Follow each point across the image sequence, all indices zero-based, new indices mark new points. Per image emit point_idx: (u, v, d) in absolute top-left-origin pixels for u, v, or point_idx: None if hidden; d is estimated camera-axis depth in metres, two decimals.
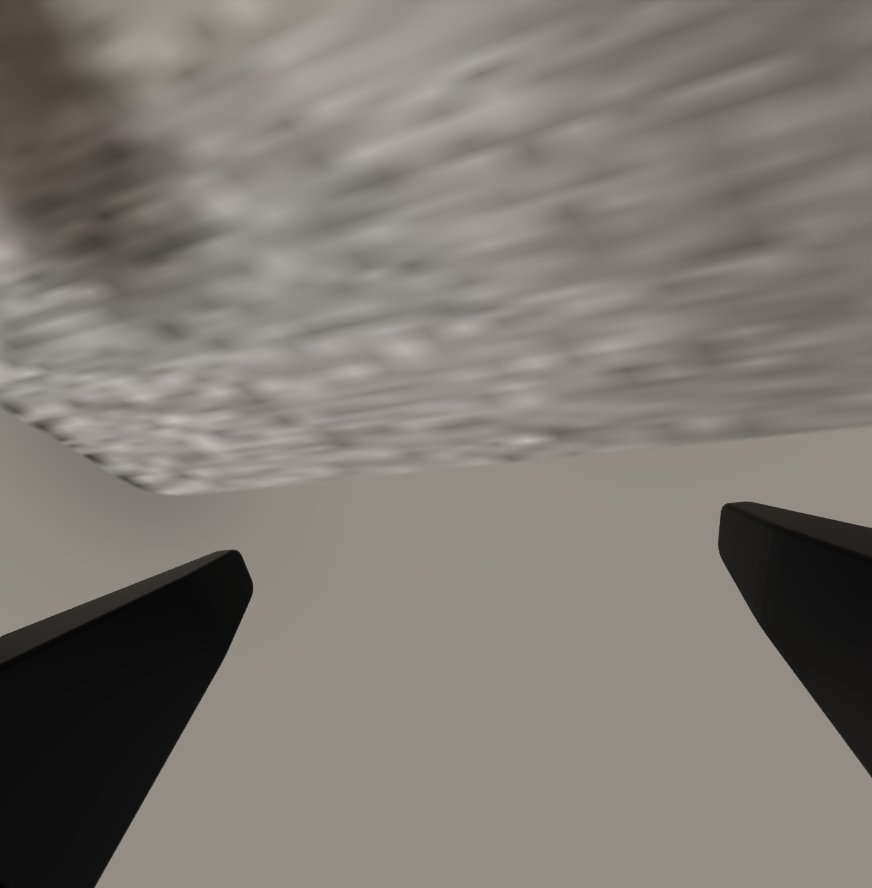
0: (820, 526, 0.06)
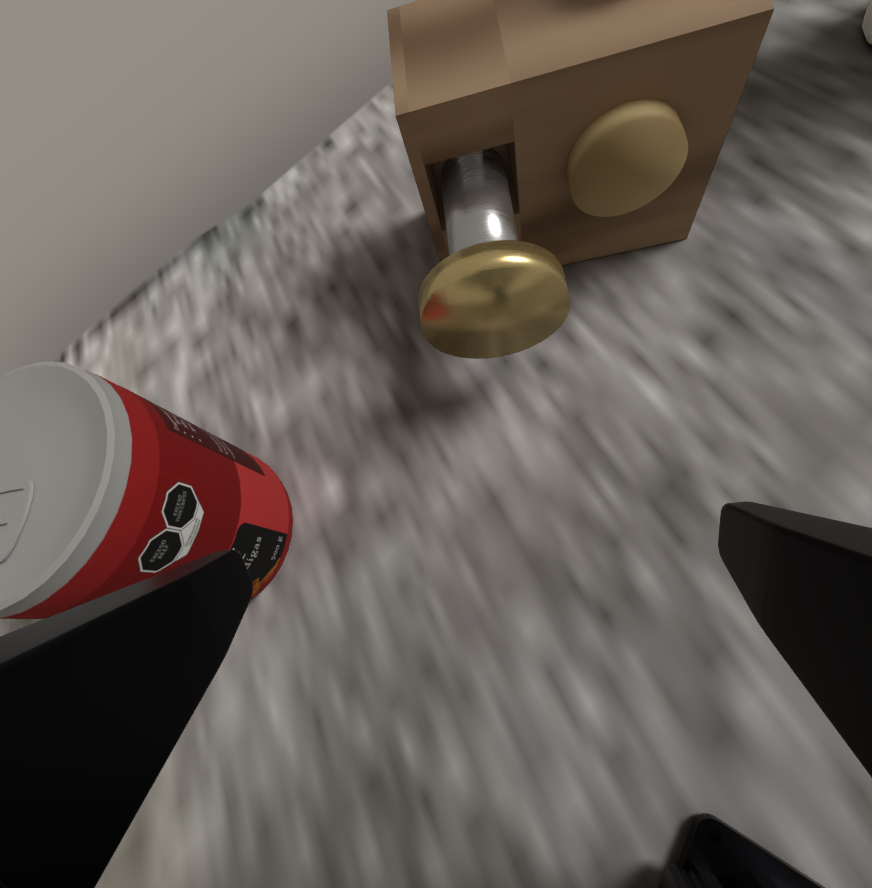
0: (820, 526, 0.06)
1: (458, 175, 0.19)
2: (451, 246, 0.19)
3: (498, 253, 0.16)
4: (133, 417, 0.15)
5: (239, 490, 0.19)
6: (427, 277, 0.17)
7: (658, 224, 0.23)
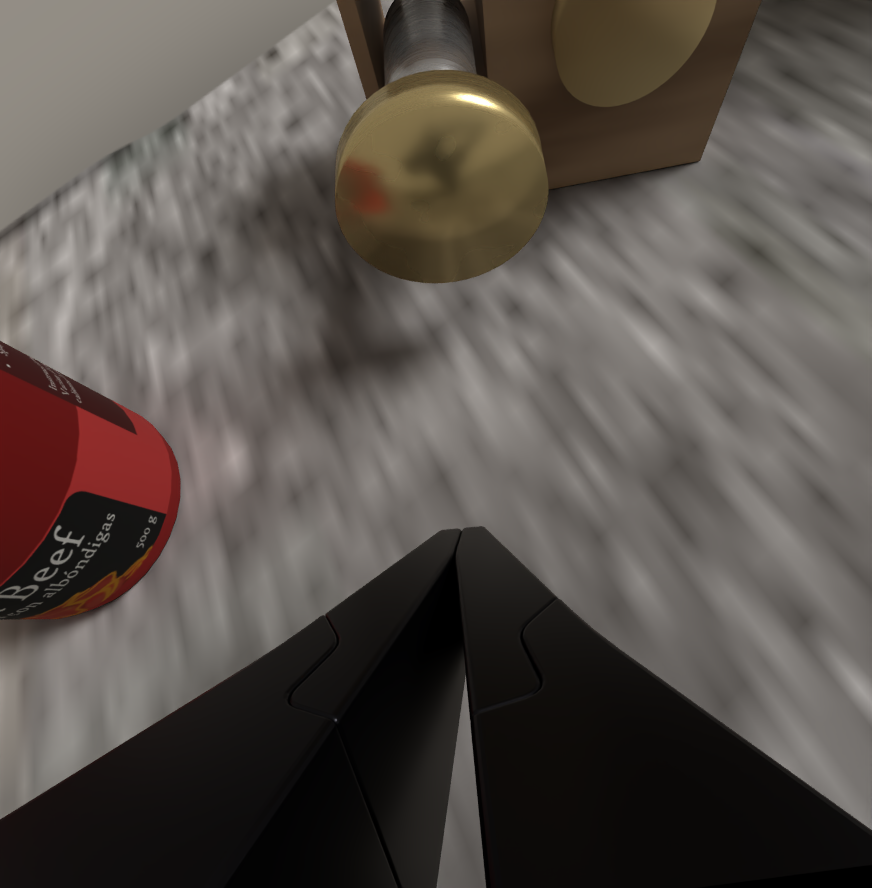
0: (483, 555, 0.07)
1: (402, 20, 0.14)
2: None
3: (442, 85, 0.10)
4: None
5: (75, 444, 0.14)
6: (343, 135, 0.12)
7: (666, 134, 0.18)
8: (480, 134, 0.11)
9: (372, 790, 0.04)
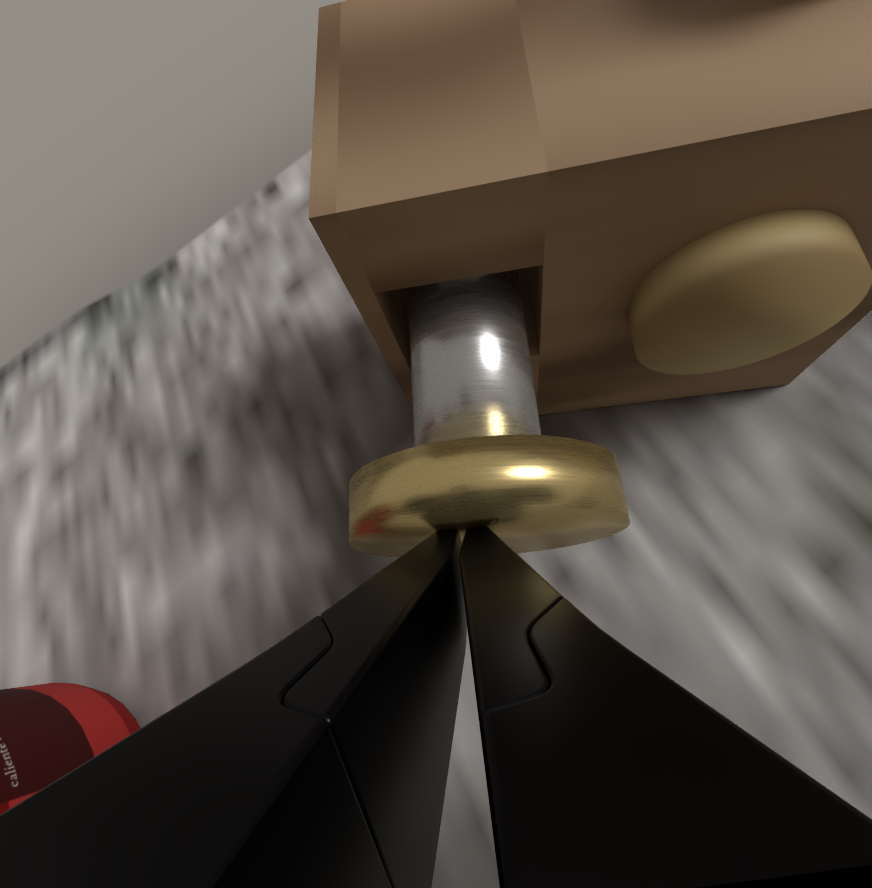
0: (488, 554, 0.07)
1: None
2: (415, 391, 0.11)
3: (500, 466, 0.07)
4: None
5: None
6: (360, 474, 0.09)
7: (753, 369, 0.15)
8: (549, 514, 0.08)
9: (365, 791, 0.04)
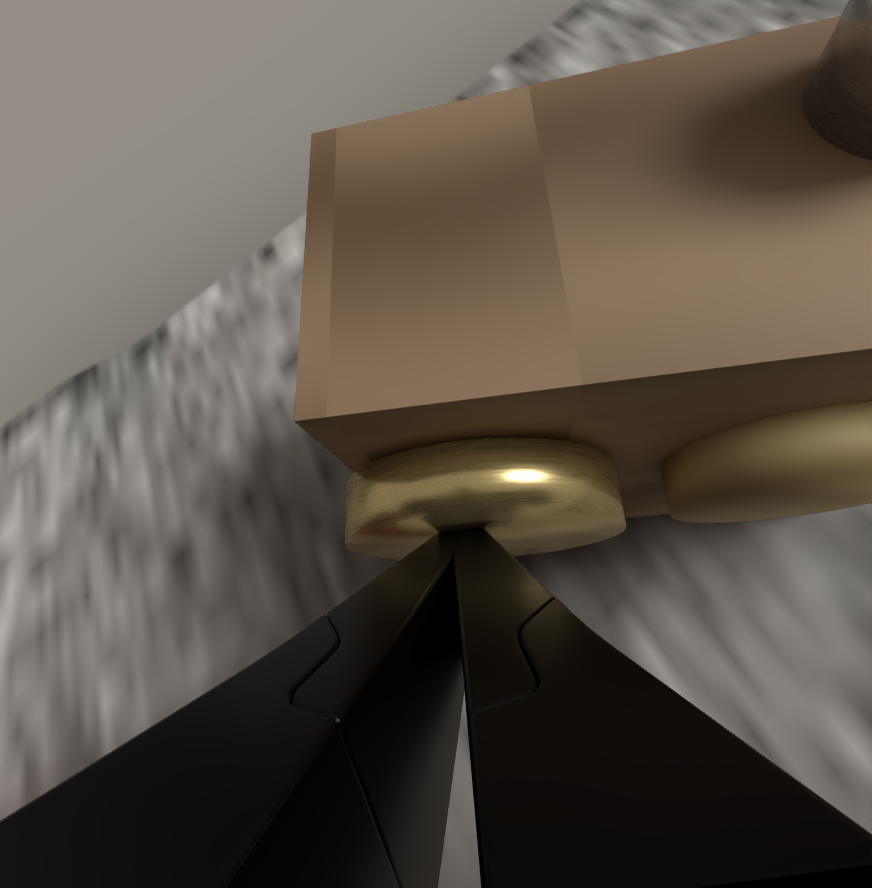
0: (482, 555, 0.07)
1: None
2: None
3: (495, 468, 0.07)
4: None
5: None
6: (356, 477, 0.09)
7: None
8: (545, 517, 0.08)
9: (372, 791, 0.04)
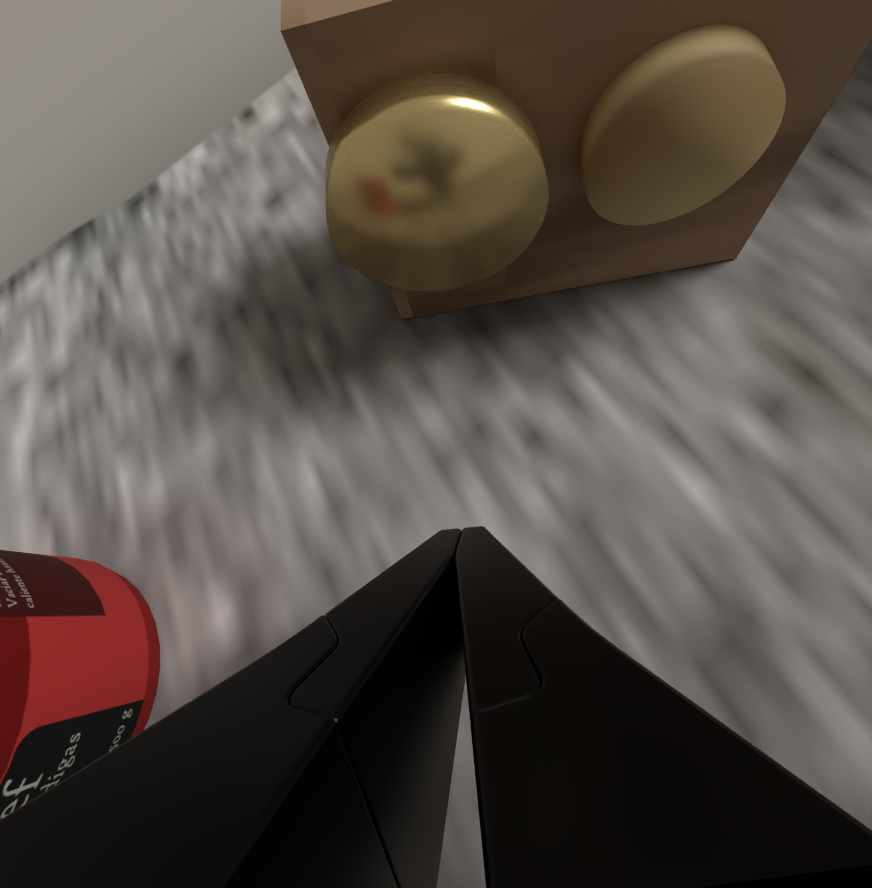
0: (483, 555, 0.07)
1: None
2: None
3: (437, 89, 0.10)
4: None
5: (26, 674, 0.11)
6: (332, 143, 0.11)
7: (701, 237, 0.16)
8: (478, 140, 0.10)
9: (372, 791, 0.04)
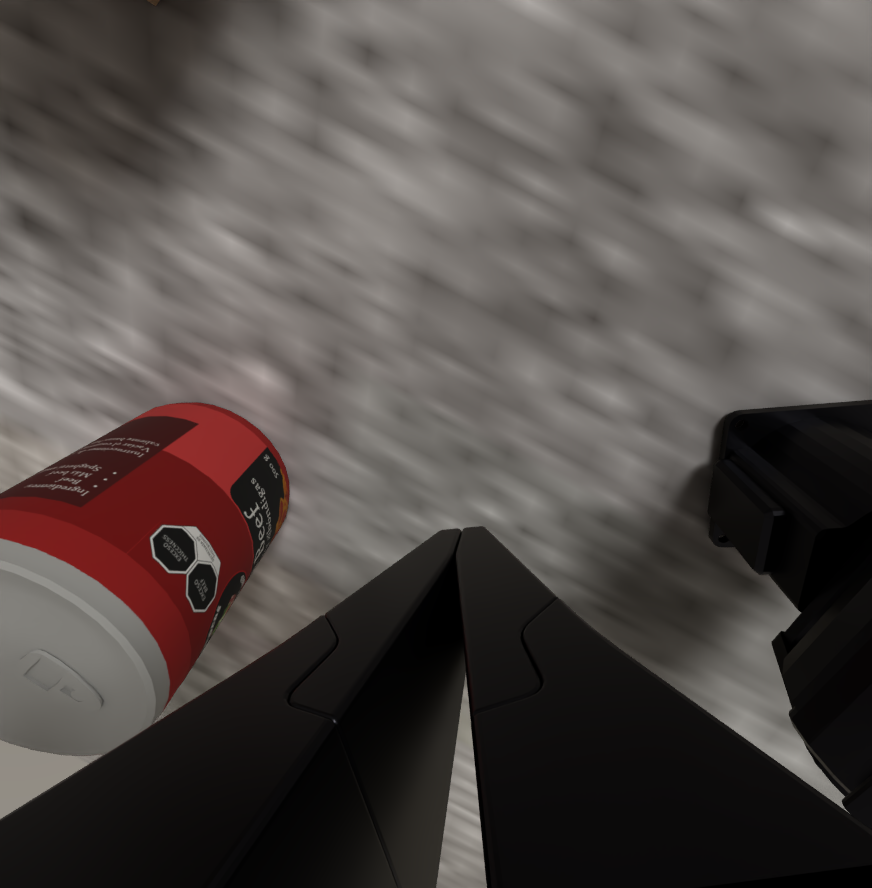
0: (484, 555, 0.07)
1: None
2: None
3: None
4: (42, 542, 0.12)
5: (197, 470, 0.17)
6: None
7: None
8: None
9: (372, 791, 0.04)
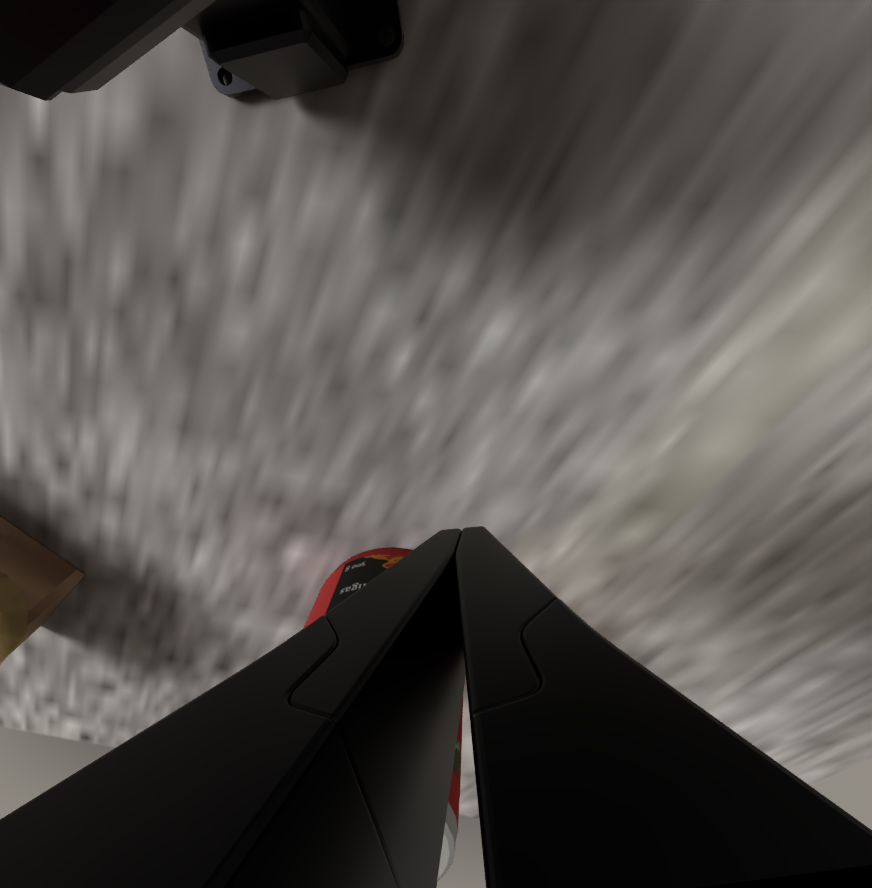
0: (484, 555, 0.07)
1: None
2: None
3: None
4: None
5: None
6: None
7: None
8: None
9: (371, 791, 0.04)
